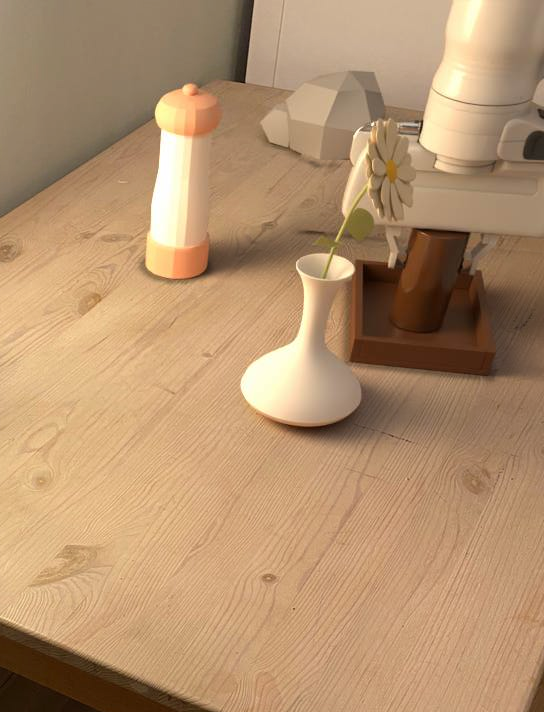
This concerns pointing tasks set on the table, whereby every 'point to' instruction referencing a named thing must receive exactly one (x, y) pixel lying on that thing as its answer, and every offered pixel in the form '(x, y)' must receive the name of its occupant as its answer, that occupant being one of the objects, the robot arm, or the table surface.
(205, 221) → the pepper shaker
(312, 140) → the rock
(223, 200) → the table surface
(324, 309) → the flower in vase
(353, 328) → the tray
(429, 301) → the bottle
